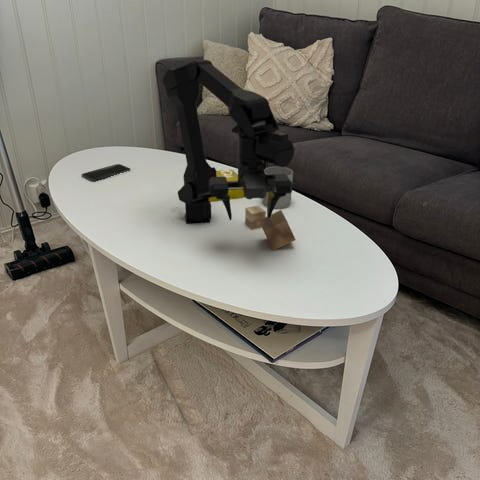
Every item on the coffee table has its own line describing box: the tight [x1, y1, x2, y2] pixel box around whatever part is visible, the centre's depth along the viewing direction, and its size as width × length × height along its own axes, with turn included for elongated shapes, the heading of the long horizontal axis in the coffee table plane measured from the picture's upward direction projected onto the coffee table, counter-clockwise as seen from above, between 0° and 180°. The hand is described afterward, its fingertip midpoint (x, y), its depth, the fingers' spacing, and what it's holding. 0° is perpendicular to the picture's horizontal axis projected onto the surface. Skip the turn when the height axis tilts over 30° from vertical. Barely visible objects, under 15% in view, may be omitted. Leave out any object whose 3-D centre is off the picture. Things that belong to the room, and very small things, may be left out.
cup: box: [261, 166, 294, 210], centre depth 137 cm, size 8×8×10 cm
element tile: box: [209, 169, 245, 203], centre depth 146 cm, size 15×15×5 cm
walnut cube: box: [259, 209, 297, 251], centre depth 115 cm, size 6×6×6 cm
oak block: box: [244, 205, 267, 230], centre depth 125 cm, size 4×4×5 cm
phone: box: [81, 163, 131, 183], centre depth 159 cm, size 8×1×15 cm
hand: (249, 218), depth 112 cm, fingers open, 9 cm apart
